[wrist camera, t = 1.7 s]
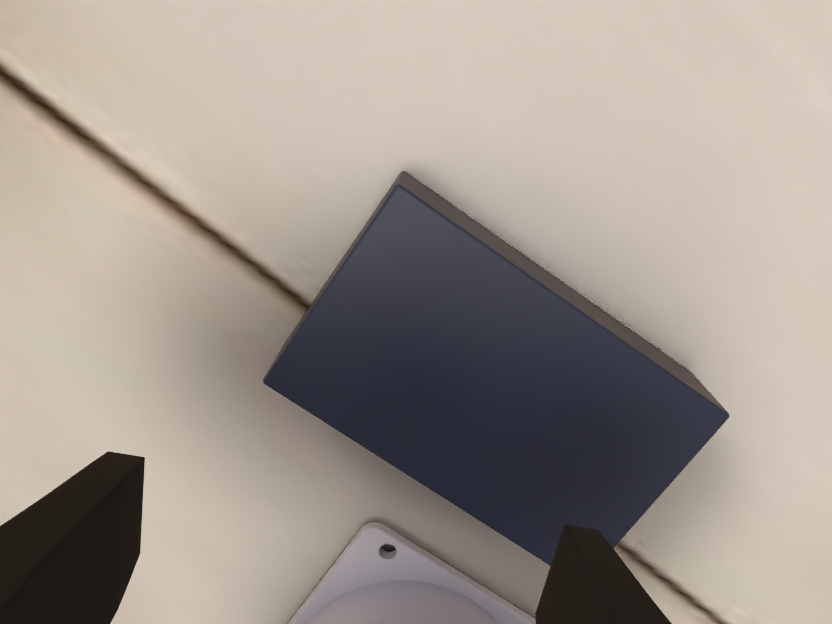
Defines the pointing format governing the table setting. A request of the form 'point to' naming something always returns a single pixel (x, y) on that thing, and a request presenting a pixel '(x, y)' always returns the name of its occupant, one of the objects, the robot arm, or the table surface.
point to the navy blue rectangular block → (491, 378)
